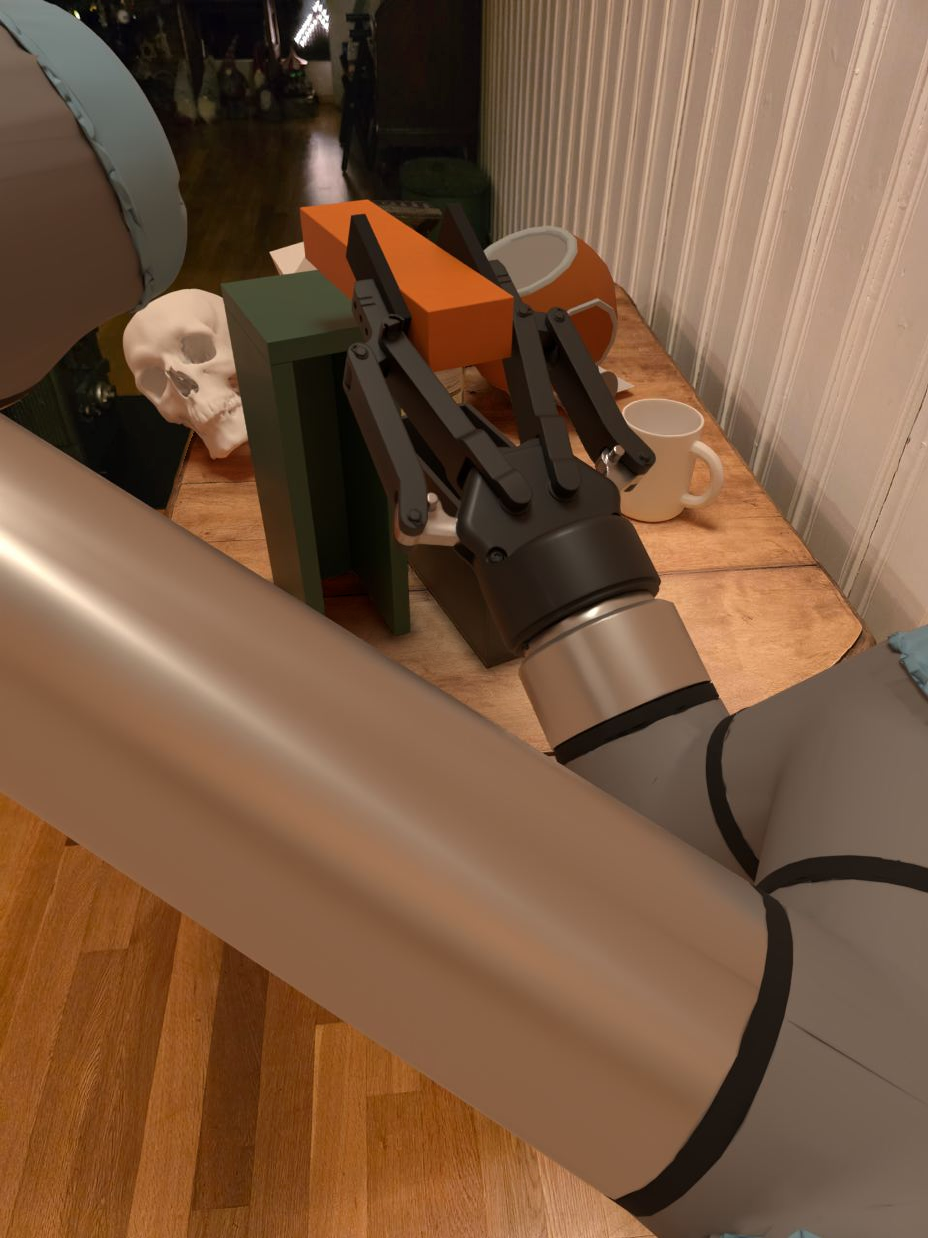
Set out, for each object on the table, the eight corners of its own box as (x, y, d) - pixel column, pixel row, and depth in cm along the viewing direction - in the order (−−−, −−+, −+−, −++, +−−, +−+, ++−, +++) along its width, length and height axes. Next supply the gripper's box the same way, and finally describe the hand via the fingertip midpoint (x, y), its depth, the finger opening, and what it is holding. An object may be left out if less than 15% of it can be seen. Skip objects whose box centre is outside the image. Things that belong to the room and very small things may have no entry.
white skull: (174, 485, 88) (72, 335, 87) (250, 485, 108) (168, 362, 107) (272, 410, 85) (167, 254, 84) (333, 424, 105) (248, 297, 104)
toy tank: (389, 257, 149) (421, 302, 149) (282, 262, 127) (320, 315, 127) (436, 198, 140) (470, 246, 140) (330, 192, 118) (370, 249, 118)
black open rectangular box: (578, 636, 73) (594, 516, 65) (486, 668, 70) (491, 545, 62) (465, 512, 88) (467, 401, 80) (386, 533, 85) (379, 420, 77)
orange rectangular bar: (511, 357, 41) (514, 296, 39) (429, 374, 39) (427, 311, 37) (371, 248, 54) (368, 198, 52) (304, 258, 52) (299, 206, 50)
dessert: (509, 381, 112) (510, 346, 109) (578, 362, 117) (581, 328, 114) (563, 415, 105) (566, 380, 102) (634, 394, 110) (639, 359, 107)
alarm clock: (495, 345, 86) (408, 258, 93) (519, 442, 102) (443, 361, 109) (640, 243, 87) (543, 166, 95) (641, 354, 103) (558, 280, 111)
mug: (730, 515, 88) (753, 427, 82) (690, 548, 84) (711, 458, 77) (635, 475, 94) (650, 390, 88) (593, 503, 90) (605, 416, 83)
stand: (411, 631, 73) (397, 319, 55) (314, 662, 70) (267, 342, 52) (362, 559, 81) (336, 266, 63) (273, 584, 78) (220, 283, 60)
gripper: (394, 713, 37) (236, 305, 43) (703, 605, 43) (527, 261, 49) (425, 660, 30) (233, 186, 36) (787, 542, 36) (570, 151, 42)
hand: (402, 230), depth 43 cm, fingers closed on orange rectangular bar, 4 cm apart
